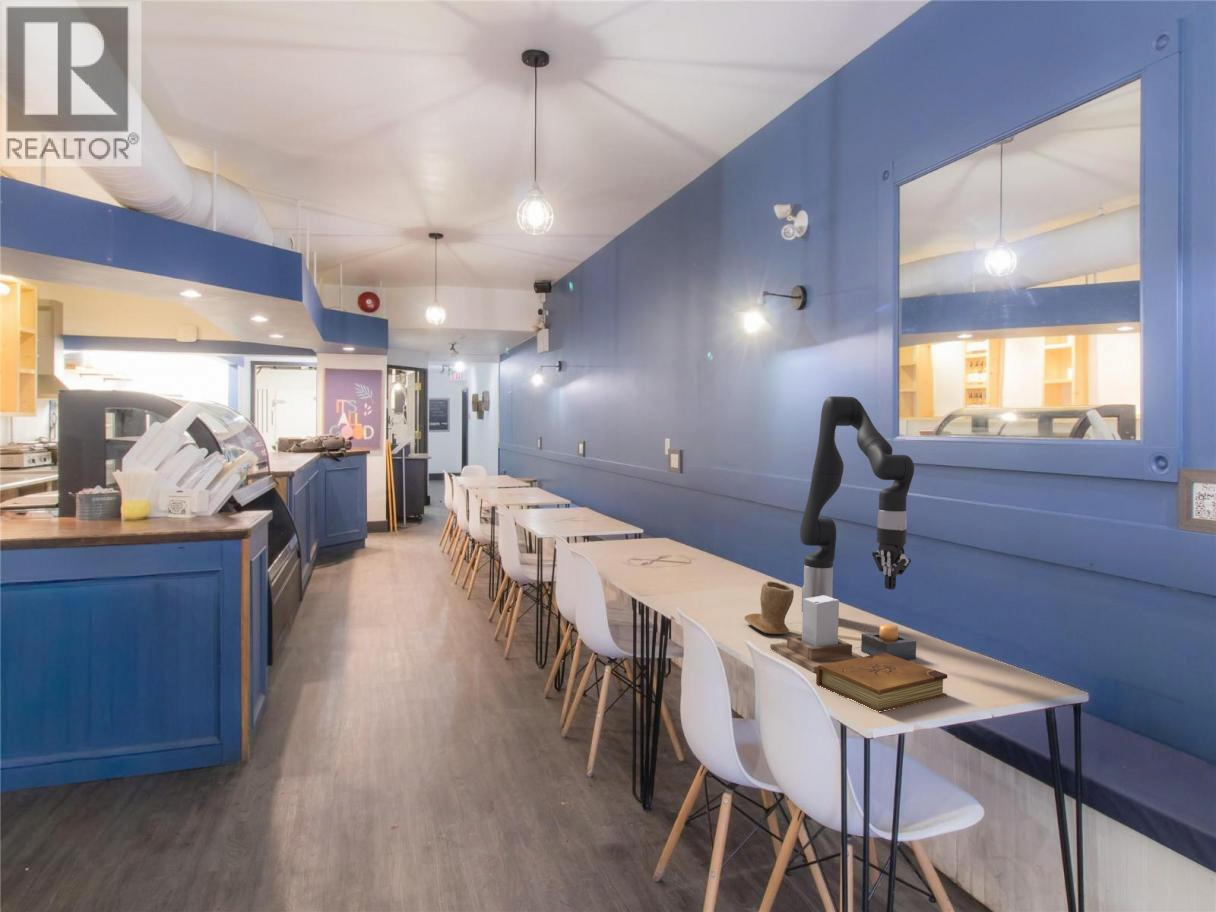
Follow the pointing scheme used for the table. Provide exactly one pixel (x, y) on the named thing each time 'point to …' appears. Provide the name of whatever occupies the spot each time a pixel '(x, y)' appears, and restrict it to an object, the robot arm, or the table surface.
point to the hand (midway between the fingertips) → (890, 588)
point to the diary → (881, 681)
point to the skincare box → (820, 621)
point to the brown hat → (772, 608)
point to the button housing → (888, 646)
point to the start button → (888, 632)
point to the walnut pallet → (813, 652)
